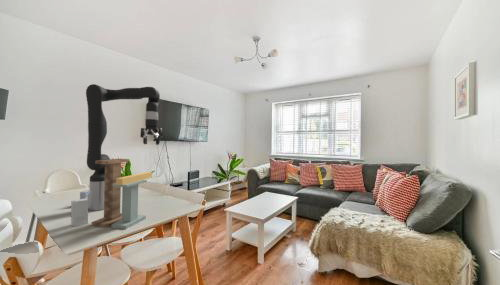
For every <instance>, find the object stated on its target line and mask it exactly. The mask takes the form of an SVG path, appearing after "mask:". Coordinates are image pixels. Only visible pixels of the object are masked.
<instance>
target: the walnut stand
mask: <svg viewBox="0 0 500 285" xmlns="http://www.w3.org/2000/svg"><path fill="white" fill-rule="evenodd" d="M129 162H130V159H129V158H113V159H112V158H110V159H109V160H98V161H95V164H105V187H104V209H103V217H101V218H99V219H96V220H94V221H92V222H90V223H91V224H90V225H91V226H92V227H93V226H94V227H102V228H110V227H112V224H114V223H116V222H118V221H120V220H122V212H121V199H122V197H121V196H122V195H121V194H122V192H121V191H122V189H121V188H122V187H116V186H113V184H116V178H120V177H122V164H123V163H129Z"/></svg>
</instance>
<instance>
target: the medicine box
mask: <svg viewBox="0 0 500 285" xmlns="http://www.w3.org/2000/svg"><path fill="white" fill-rule="evenodd" d="M89 190H90V189H89ZM89 190H85V191H80V192H79V199H87V200H88V193H89Z"/></svg>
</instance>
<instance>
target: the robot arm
mask: <svg viewBox="0 0 500 285" xmlns="http://www.w3.org/2000/svg"><path fill="white" fill-rule="evenodd" d="M85 95H86V96H85V97H86V101H87V103H86V104H87V117H88V118H87V133H88V136H87V138H88V139H87V140H88V141H87V143H88V144H87V146H88V147H87V154H86V166H87V168H88V169H89V170H91V171H94V172H93V174H91V175H90V176H89V193H88V211H93V212H94V211H101V210H104V187H105V164H95V161H98V160H109V159H111V158H110V156H109V155H107V154H106V153H105V154H102V145H103V143H104V141H105V139H106V137H107V133H108V125H107V119H106V117H105V116H106V115H105V114H104V111H103V107H102V106H103V105H102V103H103V102H111V101H116V100H117V101H119V100H142V99H143V98H144V99H148V101H147V103H146V105H145V119H144V120H145V122H144V123H145V124H144V125H145V127H141V128H140V138H143V139H142V140H143V145H147V144H148V137H149V136H154V137H155V145H160V143H161V141H160V139H162V138H163V137H164V135H163V132H164V131H163V128H162V127H161V128H160V127H159V104H160V99H161V98H160V92H159V91H158V89H157V88H155V87H152V86H144V87H127V88H126V87H125V88H121V89H120V88H119V89H109V88H104V87H102V86H100V85H98V84H90V85H88V86H87V87H86V90H85ZM158 127H159V128H158Z"/></svg>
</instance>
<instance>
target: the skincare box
mask: <svg viewBox="0 0 500 285" xmlns="http://www.w3.org/2000/svg"><path fill="white" fill-rule="evenodd" d="M70 203H71V205H70V207H71V208H70V209H71V212H70V215H71V216H70V217H71V219H70V221H71V222H70V223H71V226H72V227H76V226H82V225H85V224H88V223H89V209H88V200H87V199H80V198H79V199H75V200H74V199H72V200H71V201H70Z"/></svg>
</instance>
